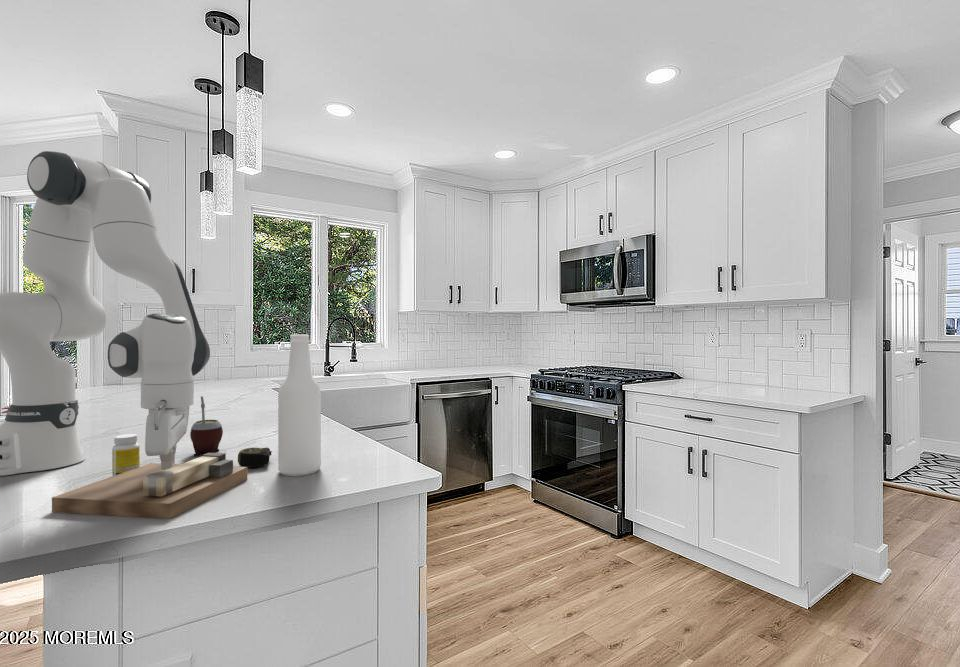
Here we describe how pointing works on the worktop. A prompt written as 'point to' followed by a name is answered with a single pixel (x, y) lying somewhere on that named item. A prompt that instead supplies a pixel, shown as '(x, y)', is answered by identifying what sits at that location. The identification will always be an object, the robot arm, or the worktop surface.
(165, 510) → the wooden cutting board
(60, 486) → the worktop surface
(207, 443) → the mate gourd
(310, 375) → the alcohol
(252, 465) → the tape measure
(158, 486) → the folding leg
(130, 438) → the supplement bottle
